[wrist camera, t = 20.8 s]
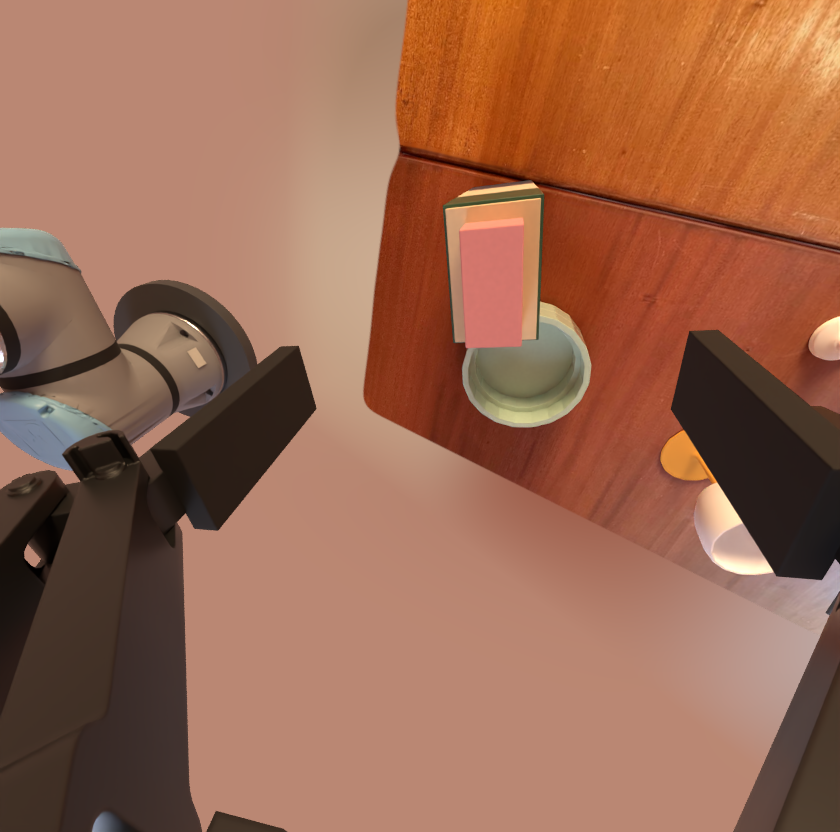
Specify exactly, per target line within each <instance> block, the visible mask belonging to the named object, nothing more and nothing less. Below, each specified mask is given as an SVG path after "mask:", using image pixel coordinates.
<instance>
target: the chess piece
mask: <svg viewBox="0 0 840 832" xmlns="http://www.w3.org/2000/svg"><path fill="white" fill-rule="evenodd" d="M809 350H810V352H811V353H812V354H813V355H814V356H816V357H818V358H821V359H824V360H839V359H840V317H837V318H833V319H831V320H829V321H827V322H825V323H824V324H822V325H821V326H819V327H818V328H817V329H816V330H815V331H814V333H813V334H812V336H811V337H810V340H809Z"/></svg>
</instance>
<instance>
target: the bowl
mask: <svg viewBox="0 0 840 832" xmlns="http://www.w3.org/2000/svg"><path fill="white" fill-rule="evenodd" d="M590 373H591V362H590V358H589V354H588V350H587V347H586V344H585V342H584V339H583V337H582V334H581V331H580V329H579V328H578V327H577V325H576V324H575V323H574V321H573V320H572V319H571V317H570V316H569V315H568V314H566V313H565V312H563V311H562V310H560V309H559V308H557V307H556V306H554V305H551V304H547V303H543V302H540V318H539V340H522V346H521V347H493V348H467V350H466V354H465V358H464V362H463V366H462V377H463V386H464V388H465V391H466V393H467V395H468V398H469V400H470V401H471V402H472V404H473V405H474V406H475V407H476V408H477V409H478V410H479V411H480V412H481V413H482V414H483V415H485V416H487V417H488V418H490V419H492V420H493V421H495V422H497V423H500V424H504V425H508V426H511V427H536V426H540V425H544V424H548V423H552V422H553V421H555V420H557V419H559V418H561V417H562V416H564V415H566V414H568V413H569V412H570V411H571V410H572V409H573V408H574V407H575V406H576V405H577V404H578V403H579V402H580V401H581V399H582V397H583V395H584V393H585V391H586V389H587V387H588V385H589V382H590Z"/></svg>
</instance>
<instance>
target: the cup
mask: <svg viewBox="0 0 840 832" xmlns="http://www.w3.org/2000/svg"><path fill="white" fill-rule="evenodd" d="M660 461H661V463H662V465H663V468H664V470H665V471H667V472H668V473H669V474H671V475H672V476H673V477H676V478H680V479H683V480H702V479H706V478H709V480H710V481H711V483H712V485H710V486H709V487H707V488H705V489H704V490H703V491H702V492H701V493H700V494H699V496H698V497H697V501H696V506H695V511H694V522H695V528H696V530H697V533H698V536H699V539H700V541H701V543H702V546H703V548H704V550H705V551H706V553H707V554H708V555H709V557H710V558H711V560H712V561H713V562H714V563H715V564H717V565H718V566H719V567H721V568H722V569H723V570H727V571H730V572H733V573H737V574H744V575H761V574H767V573H772V572H774V571H773V570H772V568H771V567H770V565H769V564H768V562H767V560H766V559H765V557H764V556H763V554H762V553H761V551H760V549H759V548H758V546H757V545H756V543H755V541H754V540H753V538H752V537H751V535H750V534H749V532H748V530H747V529H746V527H745V526H744V524H743V522H742V521H741V519H740V518H739V516H738V515H737V513H736V511H735V510H734V508H733V507H732V505H731V503H730V502H729V500H728V499H727V497H726V496H725V494H724V492H723V491H722V489H721V488H720V486H719V485H718V483H717V481H716V480H715V478H714V477H713V475H712V473H711V472H710V470H709V469H708V467H707V466H706V464H705V462H704V461H703V459H702V458H701V456H700V454H699V453H698V451H697V450H696V448H695V447H694V445H693V443H692V442H691V440H690V439H689V437H688V435H687V434H686V432H685V431H681V432H679V433H678V434H676V435H675V436H673V437H672V438H670V439H669V440H668V441H667V443H666V444H665V446H664V447H663V448H662V451H661V457H660Z"/></svg>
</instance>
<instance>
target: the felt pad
mask: <svg viewBox="0 0 840 832" xmlns="http://www.w3.org/2000/svg"><path fill="white" fill-rule="evenodd" d="M540 210H541V198H535V199H526V200H518V201H509V202H500V203H491V204H482V205H473V206H465V207H456V208H447V209H445V212H446V225H447V239H448V253H449V266H450V280H451V293H452V307H453V320H454V334H455V342H465V328H464V310H463V293H462V275H461V257H460V240H459V230H460V229H461V228H462V227H463V225H464V224H465V223H474V222H484V221H494V220H504V219H514V218H523V221H524V257H523V308H522V340H533V339H536V326H537V297H538V268H539V239H540Z"/></svg>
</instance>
